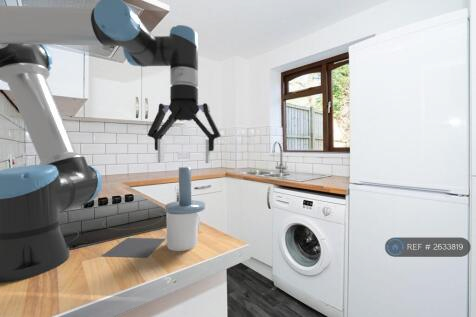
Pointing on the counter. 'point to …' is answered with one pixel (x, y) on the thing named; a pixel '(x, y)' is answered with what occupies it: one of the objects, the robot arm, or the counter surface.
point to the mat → (134, 247)
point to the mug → (182, 231)
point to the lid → (184, 196)
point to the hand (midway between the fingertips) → (184, 162)
